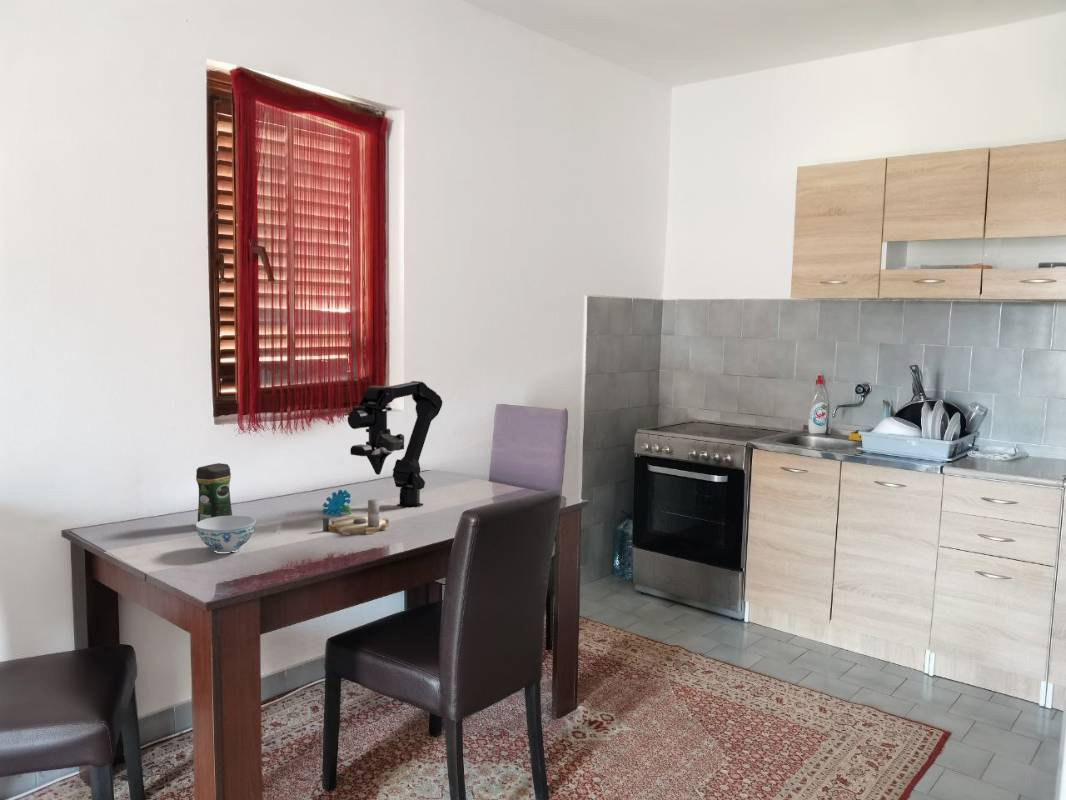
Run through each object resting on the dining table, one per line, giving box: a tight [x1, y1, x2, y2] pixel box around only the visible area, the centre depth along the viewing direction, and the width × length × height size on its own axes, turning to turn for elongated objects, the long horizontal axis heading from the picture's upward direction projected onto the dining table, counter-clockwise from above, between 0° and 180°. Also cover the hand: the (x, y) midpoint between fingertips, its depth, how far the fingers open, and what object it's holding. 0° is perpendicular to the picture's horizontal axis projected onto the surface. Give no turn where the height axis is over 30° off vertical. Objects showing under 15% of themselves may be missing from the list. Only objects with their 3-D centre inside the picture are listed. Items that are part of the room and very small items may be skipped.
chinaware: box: [195, 515, 257, 552], centre depth 217 cm, size 15×15×8 cm
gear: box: [322, 489, 353, 517], centre depth 259 cm, size 11×6×10 cm
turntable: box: [329, 498, 390, 536], centre depth 241 cm, size 17×17×9 cm
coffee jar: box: [195, 462, 233, 522], centre depth 242 cm, size 10×8×19 cm
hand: (378, 474), depth 258 cm, fingers closed
